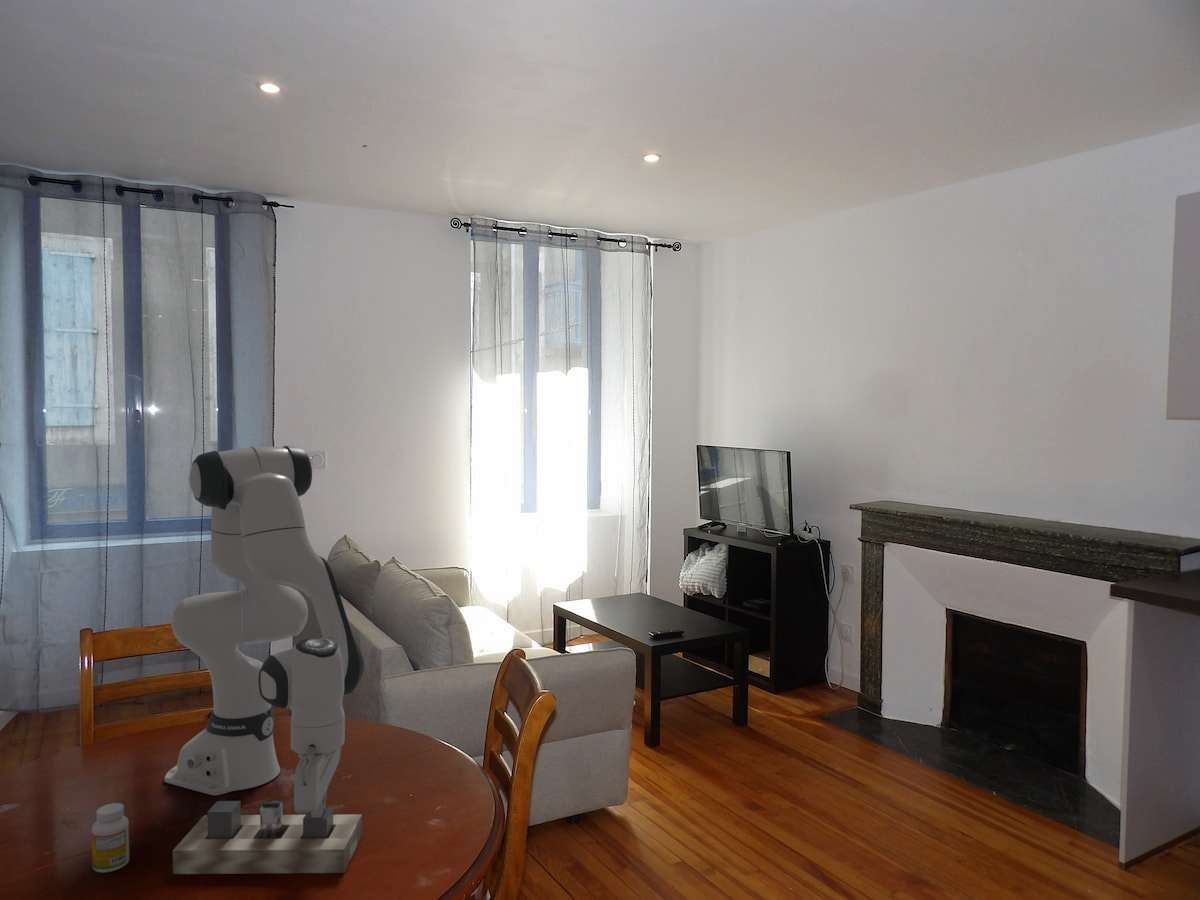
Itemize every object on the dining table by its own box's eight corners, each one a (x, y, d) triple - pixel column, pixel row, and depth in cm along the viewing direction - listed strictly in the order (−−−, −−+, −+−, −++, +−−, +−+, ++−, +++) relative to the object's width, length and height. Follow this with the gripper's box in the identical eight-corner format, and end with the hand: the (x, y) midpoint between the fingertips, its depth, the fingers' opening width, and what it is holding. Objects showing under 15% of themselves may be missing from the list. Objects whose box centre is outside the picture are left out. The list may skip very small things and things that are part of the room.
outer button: (303, 847, 144) (303, 819, 144) (310, 835, 148) (310, 807, 148) (326, 847, 144) (326, 818, 144) (333, 835, 148) (333, 807, 148)
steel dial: (257, 839, 144) (256, 807, 143) (264, 829, 147) (264, 798, 147) (278, 839, 144) (278, 807, 144) (285, 829, 147) (285, 797, 147)
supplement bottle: (102, 856, 144) (101, 801, 144) (135, 855, 145) (134, 800, 144) (86, 874, 139) (84, 816, 138) (120, 873, 139) (119, 815, 139)
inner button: (207, 840, 143) (207, 812, 143) (217, 828, 147) (217, 801, 147) (231, 840, 143) (231, 812, 143) (240, 828, 147) (240, 800, 147)
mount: (173, 874, 139) (172, 850, 139) (204, 836, 151) (204, 815, 151) (344, 872, 140) (344, 849, 140) (362, 836, 152) (362, 814, 152)
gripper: (324, 758, 135) (324, 843, 135) (347, 713, 155) (347, 787, 156) (283, 760, 134) (284, 845, 135) (311, 714, 154) (312, 788, 155)
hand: (318, 813), depth 145 cm, fingers closed
